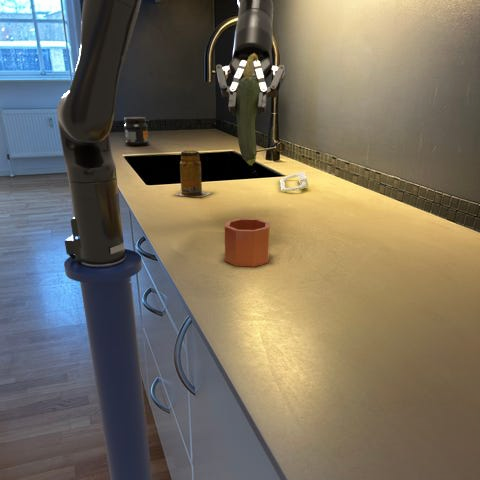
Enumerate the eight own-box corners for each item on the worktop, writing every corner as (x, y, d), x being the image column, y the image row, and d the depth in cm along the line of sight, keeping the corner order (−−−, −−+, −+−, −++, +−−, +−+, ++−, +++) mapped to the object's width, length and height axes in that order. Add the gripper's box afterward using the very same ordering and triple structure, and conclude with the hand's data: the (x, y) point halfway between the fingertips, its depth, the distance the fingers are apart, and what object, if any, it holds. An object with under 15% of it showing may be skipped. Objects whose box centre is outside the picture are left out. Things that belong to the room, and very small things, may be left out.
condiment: (187, 190, 155) (185, 149, 150) (212, 193, 152) (211, 151, 146) (175, 195, 149) (172, 152, 144) (200, 198, 146) (199, 154, 140)
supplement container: (152, 144, 241) (150, 116, 236) (142, 147, 232) (140, 119, 227) (132, 143, 244) (130, 116, 239) (121, 146, 235) (119, 118, 230)
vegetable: (234, 166, 102) (232, 53, 93) (240, 162, 105) (239, 53, 96) (256, 167, 101) (256, 52, 92) (261, 163, 104) (262, 52, 95)
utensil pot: (223, 265, 98) (222, 230, 95) (229, 251, 106) (228, 217, 102) (267, 267, 97) (268, 231, 94) (269, 252, 105) (270, 219, 102)
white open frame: (281, 184, 169) (278, 173, 168) (305, 178, 168) (303, 166, 166) (282, 198, 152) (280, 186, 150) (309, 192, 150) (307, 179, 149)
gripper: (215, 25, 99) (206, 97, 94) (289, 25, 98) (284, 98, 92) (220, 56, 106) (212, 125, 101) (288, 56, 105) (284, 126, 100)
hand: (246, 111), depth 97 cm, fingers closed on vegetable, 4 cm apart
